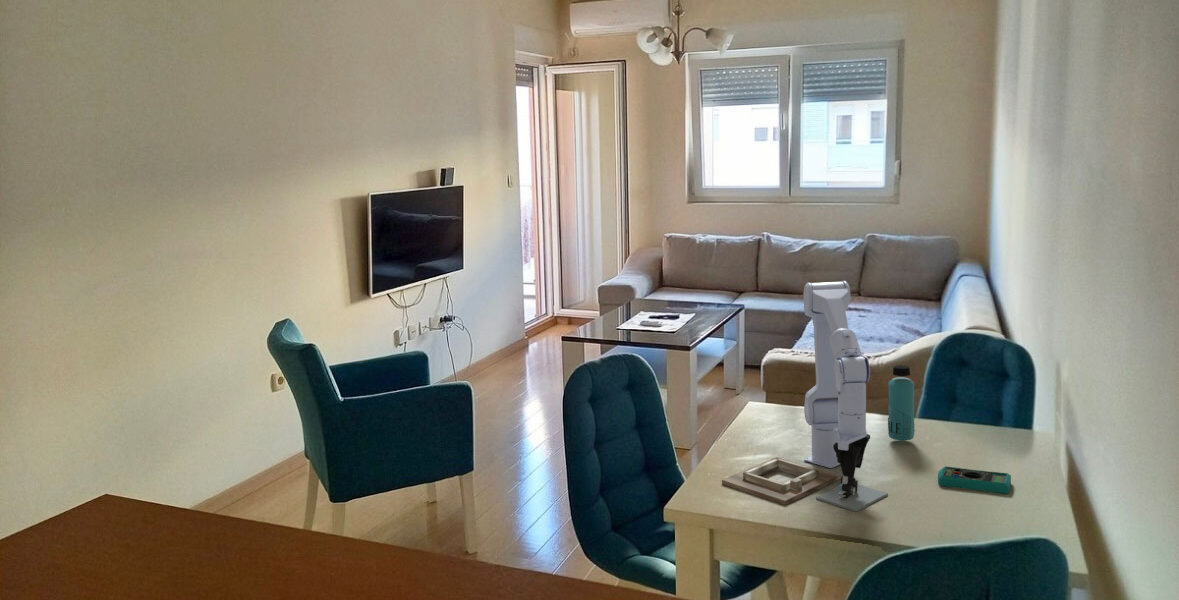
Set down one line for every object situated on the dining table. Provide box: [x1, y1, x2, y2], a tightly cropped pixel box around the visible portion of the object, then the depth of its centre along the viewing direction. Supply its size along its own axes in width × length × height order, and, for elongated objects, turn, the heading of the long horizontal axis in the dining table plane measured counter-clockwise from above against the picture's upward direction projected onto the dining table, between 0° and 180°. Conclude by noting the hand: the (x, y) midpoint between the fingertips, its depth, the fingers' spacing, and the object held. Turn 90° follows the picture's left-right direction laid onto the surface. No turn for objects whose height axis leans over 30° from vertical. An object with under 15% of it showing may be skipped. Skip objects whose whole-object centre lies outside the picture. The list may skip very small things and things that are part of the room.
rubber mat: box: [816, 484, 889, 513], centre depth 199 cm, size 12×10×1 cm
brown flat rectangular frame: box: [721, 456, 841, 506], centre depth 210 cm, size 20×18×3 cm
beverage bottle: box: [887, 364, 916, 442], centre depth 230 cm, size 6×7×20 cm
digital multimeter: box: [937, 466, 1012, 495], centre depth 203 cm, size 7×15×3 cm, turn 62°
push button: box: [836, 453, 862, 498], centre depth 198 cm, size 7×5×10 cm
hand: (852, 471), depth 198 cm, fingers closed on push button, 5 cm apart
